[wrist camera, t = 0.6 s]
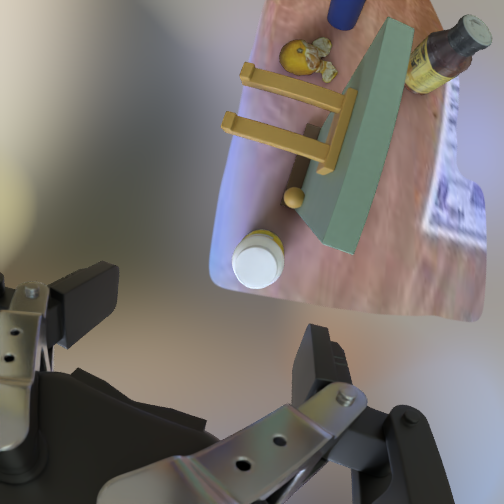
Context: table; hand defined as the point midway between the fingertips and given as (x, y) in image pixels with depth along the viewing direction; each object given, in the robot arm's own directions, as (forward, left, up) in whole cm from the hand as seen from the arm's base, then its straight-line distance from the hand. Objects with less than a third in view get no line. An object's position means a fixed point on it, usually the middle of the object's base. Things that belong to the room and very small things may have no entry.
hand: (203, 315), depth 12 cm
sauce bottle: (-29, +18, -32) cm, 47 cm away
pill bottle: (+3, +1, -32) cm, 32 cm away
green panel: (-10, +3, -32) cm, 34 cm away
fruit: (-26, +2, -32) cm, 41 cm away
